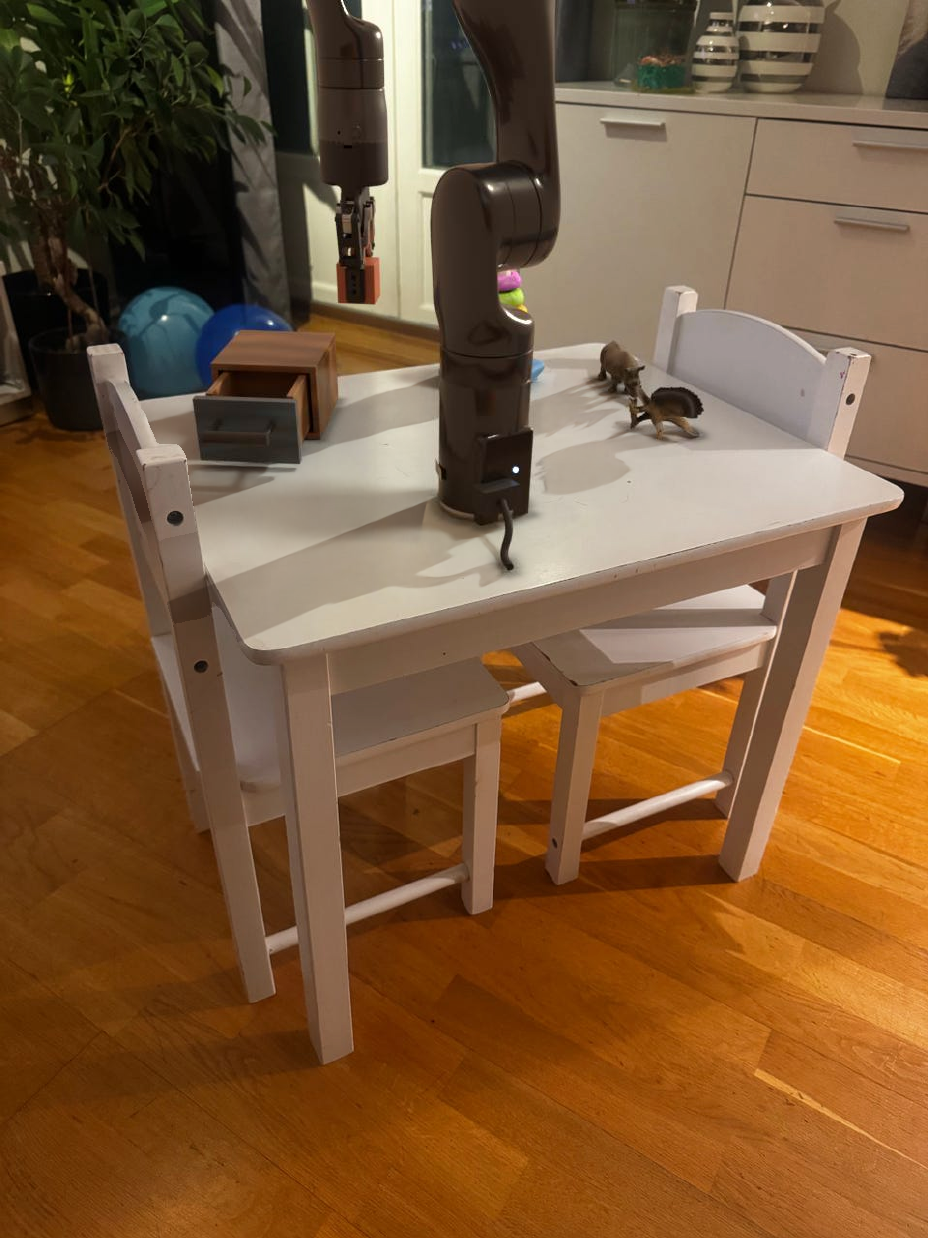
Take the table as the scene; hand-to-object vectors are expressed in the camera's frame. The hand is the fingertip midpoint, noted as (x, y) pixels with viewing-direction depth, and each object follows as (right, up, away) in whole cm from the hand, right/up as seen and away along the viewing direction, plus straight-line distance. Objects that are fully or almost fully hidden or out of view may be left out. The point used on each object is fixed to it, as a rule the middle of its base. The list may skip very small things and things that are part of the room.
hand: (359, 296), depth 109 cm
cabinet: (-11, -12, +11) cm, 20 cm away
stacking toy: (+16, -4, +25) cm, 30 cm away
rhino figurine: (+35, -6, +23) cm, 42 cm away
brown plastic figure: (+38, -14, +9) cm, 42 cm away
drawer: (-12, -18, 0) cm, 22 cm away
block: (0, 0, 0) cm, 0 cm away
